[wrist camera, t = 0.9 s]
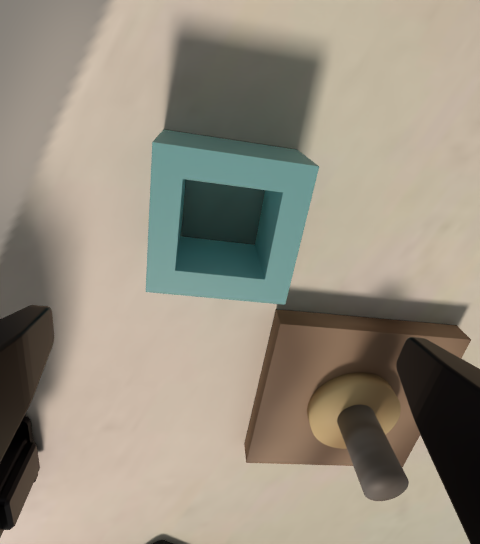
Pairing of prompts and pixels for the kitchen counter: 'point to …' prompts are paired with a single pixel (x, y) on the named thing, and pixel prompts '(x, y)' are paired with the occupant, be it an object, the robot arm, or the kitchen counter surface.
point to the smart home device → (162, 542)
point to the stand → (340, 395)
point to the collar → (220, 254)
